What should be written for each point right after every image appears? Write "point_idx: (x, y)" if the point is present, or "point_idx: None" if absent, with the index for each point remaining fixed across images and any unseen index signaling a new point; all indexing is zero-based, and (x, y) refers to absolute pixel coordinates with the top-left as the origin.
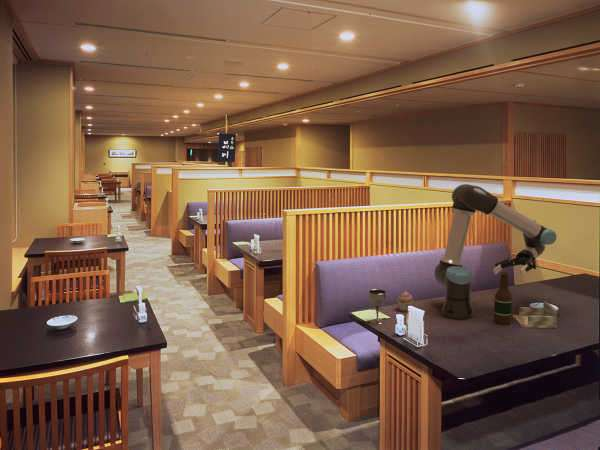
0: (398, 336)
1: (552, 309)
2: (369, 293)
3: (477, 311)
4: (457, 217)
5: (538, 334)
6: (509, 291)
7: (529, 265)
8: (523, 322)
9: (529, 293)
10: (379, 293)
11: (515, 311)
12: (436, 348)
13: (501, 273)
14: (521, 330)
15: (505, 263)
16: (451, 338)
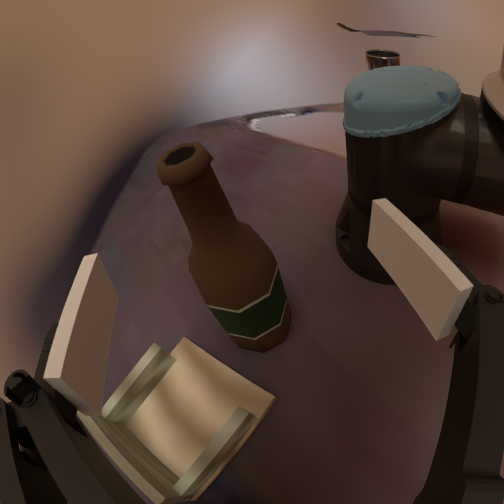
0: (303, 111)
1: (95, 421)
2: (382, 51)
3: (397, 318)
4: None
5: (130, 334)
6: (196, 261)
7: (37, 388)
8: (193, 360)
9: None
10: (397, 64)
11: (324, 467)
12: (230, 134)
13: (191, 142)
14: (174, 318)
15: (473, 374)
16: (247, 159)
